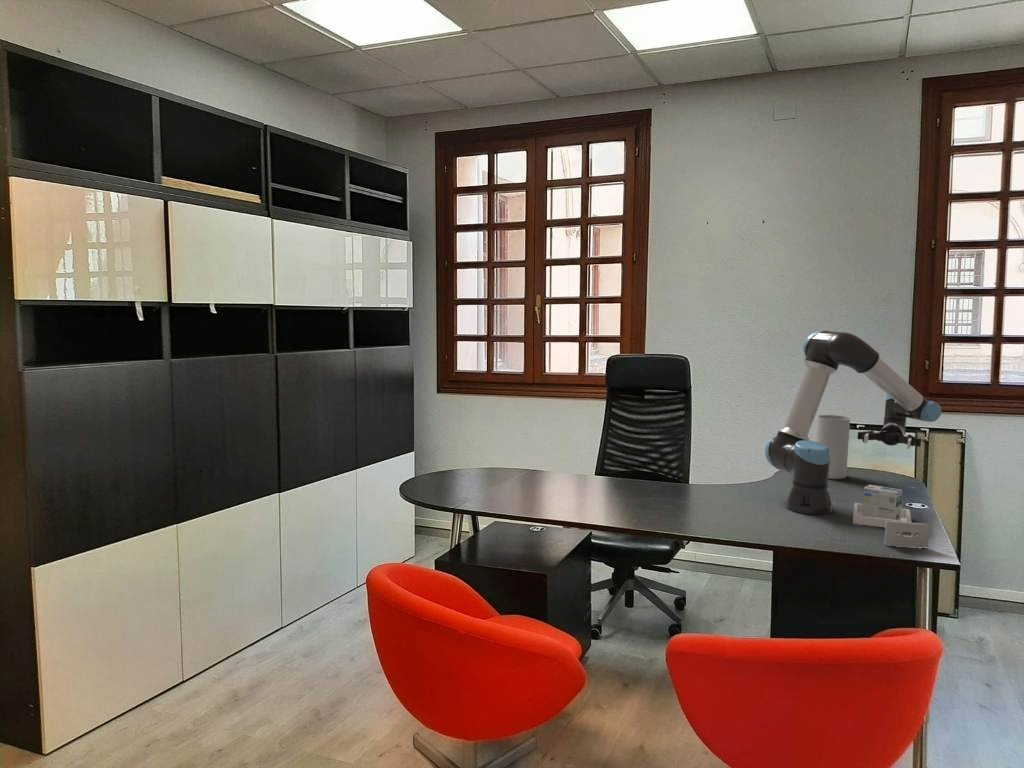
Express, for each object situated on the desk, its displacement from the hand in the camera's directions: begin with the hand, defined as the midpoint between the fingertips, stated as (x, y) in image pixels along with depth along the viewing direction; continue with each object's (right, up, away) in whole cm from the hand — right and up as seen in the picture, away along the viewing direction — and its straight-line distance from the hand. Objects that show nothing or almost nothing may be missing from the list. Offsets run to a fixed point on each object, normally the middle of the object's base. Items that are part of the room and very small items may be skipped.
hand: (886, 442), depth 259 cm
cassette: (-12, -29, -35) cm, 47 cm away
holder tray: (-7, -26, -9) cm, 28 cm away
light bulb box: (-7, -25, -9) cm, 28 cm away
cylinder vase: (+3, -19, +54) cm, 57 cm away
